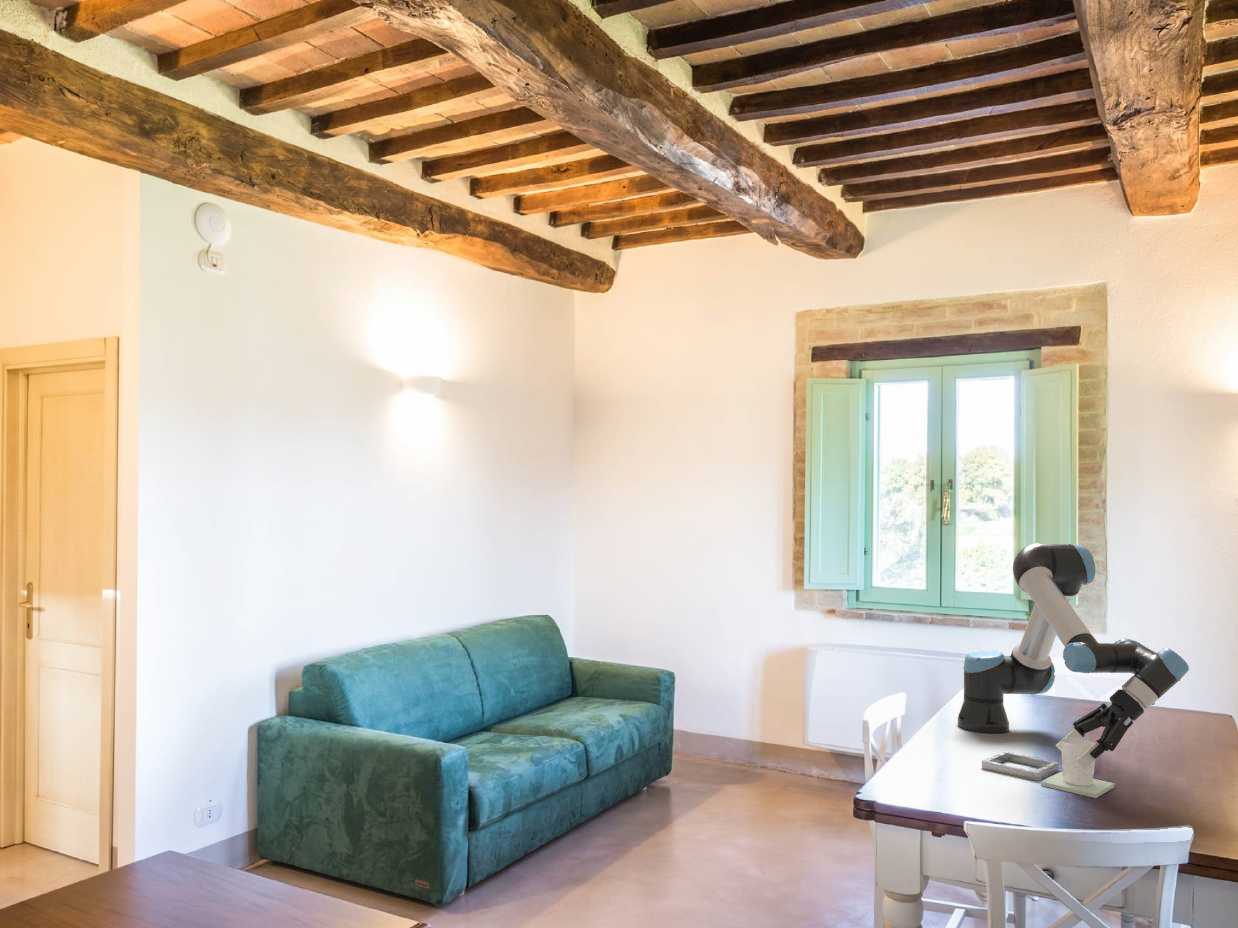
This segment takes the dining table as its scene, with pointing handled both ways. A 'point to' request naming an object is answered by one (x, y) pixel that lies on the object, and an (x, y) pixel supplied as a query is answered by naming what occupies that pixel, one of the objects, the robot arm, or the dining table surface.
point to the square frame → (1038, 774)
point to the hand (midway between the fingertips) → (1069, 756)
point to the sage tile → (1091, 791)
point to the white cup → (1071, 767)
